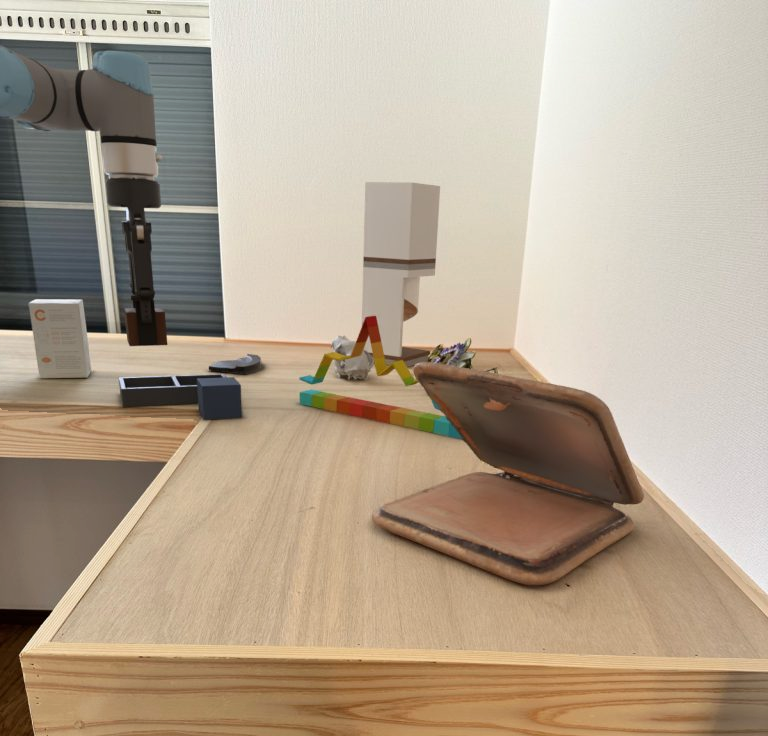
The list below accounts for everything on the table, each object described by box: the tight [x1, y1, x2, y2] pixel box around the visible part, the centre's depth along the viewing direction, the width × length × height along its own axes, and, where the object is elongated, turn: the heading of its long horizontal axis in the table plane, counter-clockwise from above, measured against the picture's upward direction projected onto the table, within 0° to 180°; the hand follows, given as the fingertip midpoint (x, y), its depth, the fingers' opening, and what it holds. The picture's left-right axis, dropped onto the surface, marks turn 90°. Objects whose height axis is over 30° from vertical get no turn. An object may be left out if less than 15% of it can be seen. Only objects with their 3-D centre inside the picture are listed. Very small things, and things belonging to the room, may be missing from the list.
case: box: [371, 361, 645, 586], centre depth 70 cm, size 20×21×16 cm
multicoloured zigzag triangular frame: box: [299, 316, 463, 440], centre depth 108 cm, size 30×3×15 cm, turn 55°
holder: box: [118, 373, 228, 408], centre depth 118 cm, size 17×9×3 cm, turn 111°
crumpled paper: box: [330, 335, 375, 380], centre depth 139 cm, size 8×9×12 cm
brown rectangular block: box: [123, 307, 168, 347], centre depth 113 cm, size 6×6×5 cm
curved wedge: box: [208, 353, 262, 375], centre depth 144 cm, size 8×14×2 cm, turn 162°
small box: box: [27, 298, 92, 379], centre depth 129 cm, size 8×6×13 cm
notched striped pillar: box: [361, 181, 441, 367], centre depth 151 cm, size 11×11×35 cm
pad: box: [197, 376, 243, 421], centre depth 109 cm, size 6×6×5 cm
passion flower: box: [427, 337, 499, 374], centre depth 126 cm, size 11×11×12 cm
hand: (146, 340), depth 114 cm, fingers closed on brown rectangular block, 6 cm apart
